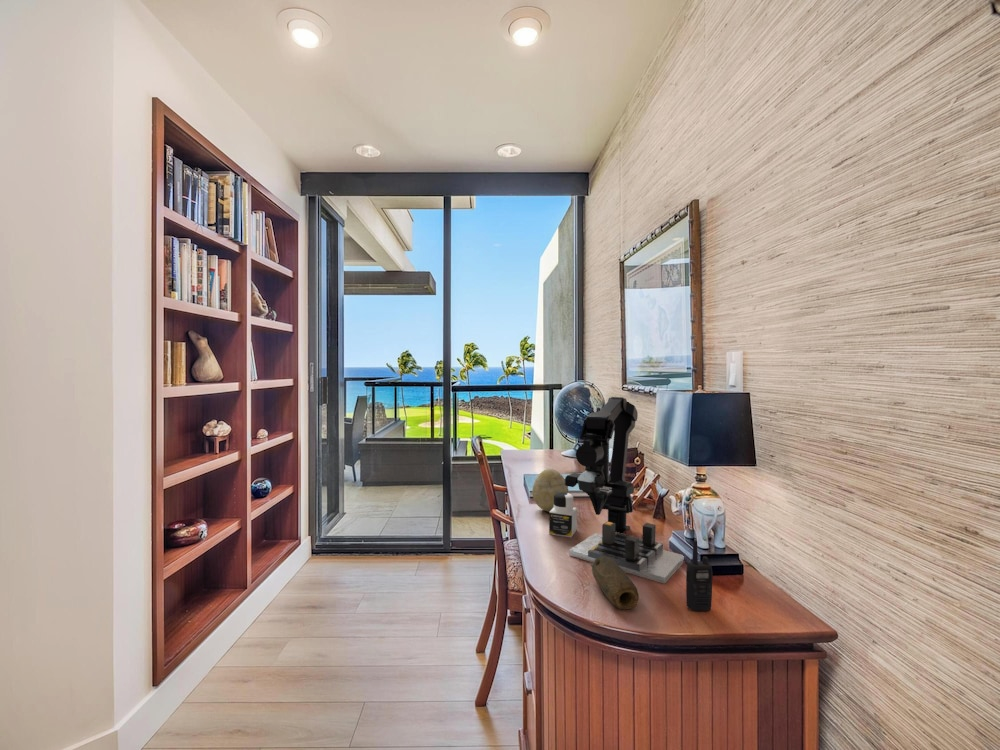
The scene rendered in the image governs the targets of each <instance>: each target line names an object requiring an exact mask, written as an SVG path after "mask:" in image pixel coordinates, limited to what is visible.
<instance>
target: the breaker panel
mask: <svg viewBox="0 0 1000 750" xmlns="http://www.w3.org/2000/svg"><path fill="white" fill-rule="evenodd" d="M656 529H657V527H656V524H654V523H650V522H646V523H645V524H643V525H642V538H641V537H637V536H634V535H630V534H626V533H625V534H624V533H618V532H615V542H614V543H612V544H611V545H610V544H606V543H602V533H599V532H598V533H597V532H594V533H593V534H592V535H590V536H589V537H587V538H586V539H584V540H582V541H581V542H579V543H577V544H576V545H574V546H573V547H571V548H570V549H568V555H569V557H574V558H577V559H581V560H584V561H586V562H590V563H593V562H594V561H595V560H596V559H597V558H598V557H601V556H606V557H609V558H611V559H612V560H614V561H615V562H616V563H617V564H618V565H619V566H620V568H621V569H622V570H623V571H624V572H625V573H626V574H630V575H634V576H637V577H641V578H643V579H648V580H651V581H655V582H657V583H661V584H666V583H667V582H668V581H669V580H670V578H671V577H672V576H673V575H674V574H675V573H676V572H677V570H679V568H680V567H681V566H682V565H683V564H684V563H683V560H684V556H683V555H684V554H680V553H677V552H672V551H668V550H665V549H664V544H663V543H661V542H658V541H656ZM682 563H683V564H682Z"/></svg>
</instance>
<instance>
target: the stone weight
mask: <svg viewBox="0 0 1000 750" xmlns="http://www.w3.org/2000/svg"><path fill="white" fill-rule="evenodd" d="M591 571H592V575H593V578H594V579H595V582H596V584H597V585H598V587H599V588H600V589H601V591H602V593H603V594H604V595H605V597H606V598H607V600H608V601H610V603H611V604H612V605H613V606H614V607H616V608H617V609H621V610H629V609H634V608H635V607H636V606H638V603H639V599H640V595H639V591H638V590H639V589H638V588H637V586H636V585H635V583H634V581H633V580H632V579H631V578H630V576H629V575H627V572H624V571H623V570H622V569H621V568H620V566H619V565H618V564H617V563H616V562H615V561H614V560H612V559H611V558H609V557H606V556H601V557H598V558H597V559H596V560H595V561H594V562H592V565H591Z"/></svg>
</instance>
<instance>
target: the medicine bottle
mask: <svg viewBox="0 0 1000 750" xmlns="http://www.w3.org/2000/svg"><path fill="white" fill-rule="evenodd" d="M548 515H549V516H548V518H549V521H548V526H549V527H548V534H549V535H553V536H560V537H566V538H572V537H573V536H574V534H575V533H576V531H577V530H578V527H577V526H578V508H577V507H574V495H573V494H571V493H569V492H568V493H565V492H560V493H556V494H555V495H554V507H553V508H552V510H551V511H550V512H549V514H548Z"/></svg>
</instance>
